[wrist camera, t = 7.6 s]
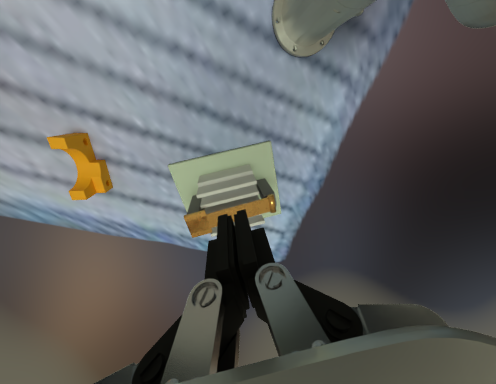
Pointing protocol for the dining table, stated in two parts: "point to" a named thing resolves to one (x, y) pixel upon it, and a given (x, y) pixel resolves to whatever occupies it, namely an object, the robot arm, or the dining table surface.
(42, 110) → the dining table surface
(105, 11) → the dining table surface
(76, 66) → the dining table surface
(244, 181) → the board
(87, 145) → the pipe clamp
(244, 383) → the robot arm
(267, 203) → the strap
